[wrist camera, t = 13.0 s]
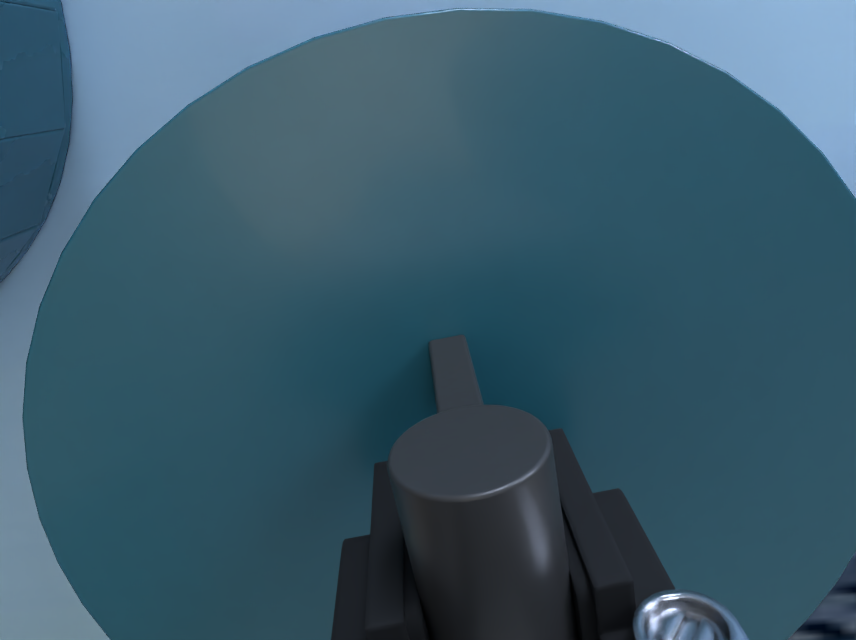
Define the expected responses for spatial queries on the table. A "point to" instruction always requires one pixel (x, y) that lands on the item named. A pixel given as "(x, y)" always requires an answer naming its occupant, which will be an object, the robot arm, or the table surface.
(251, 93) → the lid
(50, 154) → the pot
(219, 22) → the table surface
